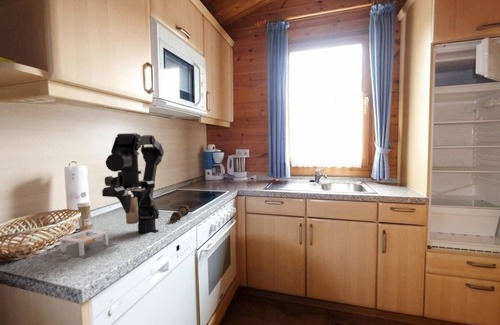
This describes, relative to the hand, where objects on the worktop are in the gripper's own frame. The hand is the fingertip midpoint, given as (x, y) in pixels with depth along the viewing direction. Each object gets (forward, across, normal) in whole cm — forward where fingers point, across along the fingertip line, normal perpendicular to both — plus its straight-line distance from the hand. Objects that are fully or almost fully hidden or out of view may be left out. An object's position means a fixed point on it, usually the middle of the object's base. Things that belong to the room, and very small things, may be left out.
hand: (131, 211), depth 90 cm
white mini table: (+13, +8, -13) cm, 20 cm away
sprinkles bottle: (+13, -5, -31) cm, 34 cm away
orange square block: (+10, +8, -13) cm, 19 cm away
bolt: (+14, -34, -5) cm, 37 cm away
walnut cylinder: (+4, 0, 0) cm, 4 cm away
